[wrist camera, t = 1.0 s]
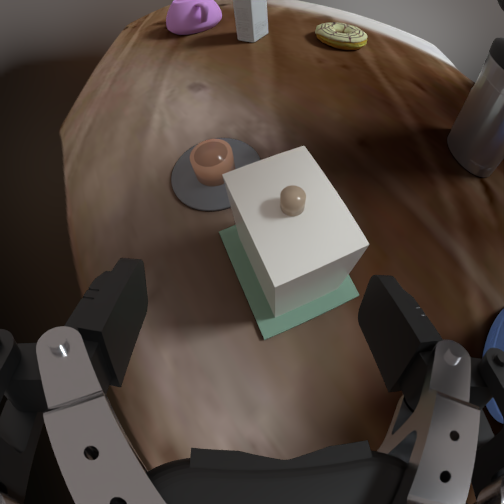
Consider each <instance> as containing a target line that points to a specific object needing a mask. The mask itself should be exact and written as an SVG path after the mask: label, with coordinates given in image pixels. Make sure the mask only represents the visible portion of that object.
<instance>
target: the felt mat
mask: <svg viewBox="0 0 504 504" xmlns="http://www.w3.org/2000/svg"><path fill="white" fill-rule="evenodd" d="M219 234H220V236H221V238H222V241H223V243H224V246H225V248H226V250H227V253H228V255H229V258H230V260H231V262H232V265H233V267H234V270H235V272H236V274H237V277H238V279H239V281H240V284H241V286H242V289H243V291H244V293H245V296H246V298H247V300H248V303H249V305H250V307H251V310H252V312H253V314H254V317H255V319H256V321H257V324H258V326H259V328H260V330H261V333H262V335H263V337H264V340H266V339H268V338H271V337H273V336H275V335H278V334H280V333H282V332H284V331H287V330H289V329H291V328H293V327H295V326H298V325H300V324H302V323H304V322H306V321H309V320H311V319H313V318H315V317H317V316H319V315H321V314H323V313H325V312H327V311H329V310H332V309H334V308H336V307H338V306H340V305H342V304H344V303H346V302H348V301H350V300H352V299H353V298H355V297H357V296H359V293H358V292H357V290H356V288H355V286H354V284H353V282H352V280H351V278H350V276H349V274H348V275H347V277H346V278H345V280H344V281H343V282H342V284H341V285H340V286H339V288H338V289H336V290H334V291H332V292H330V293H328V294H326V295H324V296H322V297H320V298H318V299H315V300H313V301H311V302H309V303H307V304H305V305H302V306H300V307H298V308H296V309H294V310H291V311H289V312H287V313H285V314H282V315H280V316H278V317H276V318H275V316H274V314H273V312H272V310H271V308H270V305H269V303H268V301H267V299H266V296H265V294H264V292H263V290H262V287H261V285H260V283H259V281H258V279H257V276H256V274H255V272H254V270H253V267H252V265H251V263H250V261H249V258H248V256H247V254H246V252H245V249H244V247H243V245H242V243H241V241H240V238H239V235H238V232H237V228H236V225H234V226H231V227H229V228H227V229H224V230H222V231H219Z"/></svg>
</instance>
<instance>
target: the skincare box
mask: <svg viewBox="0 0 504 504" xmlns="http://www.w3.org/2000/svg"><path fill="white" fill-rule="evenodd" d="M233 4H234V13H235V21H236V29H237V37H238V40H241V41H246V42H256V41H257V40H259V39H260V38H262V37H263V36H265V35H266V34H268V18H267V0H233Z"/></svg>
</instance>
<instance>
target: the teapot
mask: <svg viewBox="0 0 504 504" xmlns="http://www.w3.org/2000/svg"><path fill="white" fill-rule="evenodd" d="M221 18H222V13H221V10H220V8H219V6H218V5H217V3H216V2H215V1H214V0H174V1H173V2H172V4H171V6H170V8H169V11H168V13H167V18H166V25H167V29H168V30H169V31H171V32H172V33H175V34H177V35H189V34H195V33H199V32H202V31H206V30H208V29H211V28H213V27H214V26H216V25H217V24H218V23H219V21H220V20H221Z"/></svg>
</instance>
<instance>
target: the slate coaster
mask: <svg viewBox="0 0 504 504" xmlns="http://www.w3.org/2000/svg"><path fill="white" fill-rule="evenodd" d="M215 139H221V140H224V141H226V142H227V143H229V145H230V146H231V148H232V153H233V158H234V163H235V169H238V168H240V167H243V166H246V165H248V164H251V163H254V162H257V161H260V158H259V156H258V154H257V152H256V151H255V150H254V149H253V148H252V147H251V146H249V145H248V144H246V143H244V142H242V141H239V140H236V139H231V138H215ZM197 145H198V144H197ZM195 146H196V145H195ZM195 146H193V147H191V148H190V149H189V150H187V151H186V152H185V153H184V154H183V155H182V156H181V157H180V158H179V159H178V161H177V163H176V164H175V166H174V169H173V172H172V177H171V182H172V187H173V190H174V192H175V194H176V196H177V197H178V198H179V200H180V201H181V202H183V203H184V204H185V205H187V206H189V207H191V208H193V209H196V210H201V211H219V210H224V209H228V208H231V206H230V202H229V198H228V195H227V191H226V187H225V183H224V184H222V185H219V186H206V185H203V184H202V183H200V182H199V181H198V179H197V177H196V175H195V172H194V170H193V167H192V164H191V162H190V154H191V151H192V150H193V148H194V147H195Z"/></svg>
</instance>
